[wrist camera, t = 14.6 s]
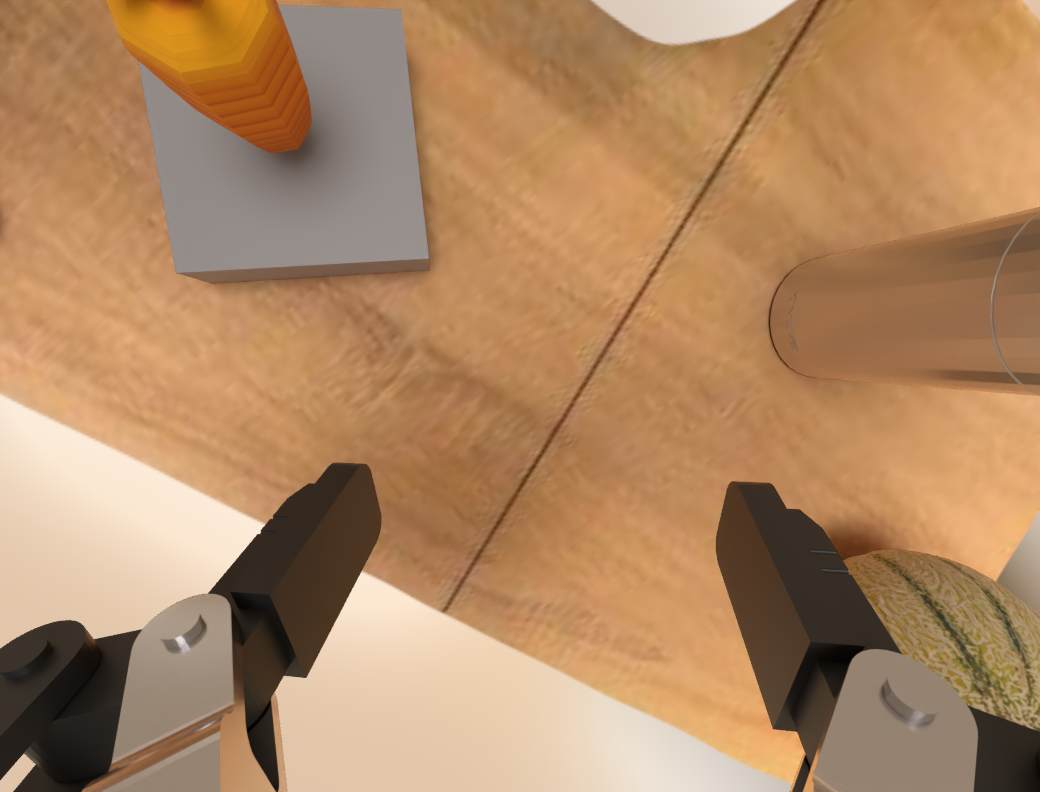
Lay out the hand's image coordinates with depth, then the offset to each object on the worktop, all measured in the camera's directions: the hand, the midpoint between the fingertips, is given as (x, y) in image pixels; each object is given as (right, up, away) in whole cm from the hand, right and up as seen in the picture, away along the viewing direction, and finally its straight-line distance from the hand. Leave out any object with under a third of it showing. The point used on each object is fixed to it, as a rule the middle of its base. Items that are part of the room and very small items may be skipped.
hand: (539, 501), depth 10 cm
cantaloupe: (+26, -15, +29) cm, 42 cm away
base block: (-13, +16, +18) cm, 27 cm away
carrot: (-13, +16, +14) cm, 25 cm away
